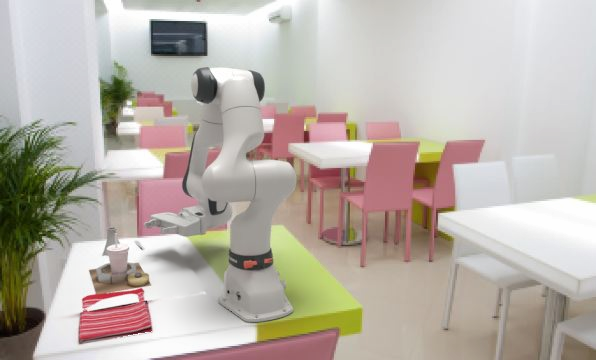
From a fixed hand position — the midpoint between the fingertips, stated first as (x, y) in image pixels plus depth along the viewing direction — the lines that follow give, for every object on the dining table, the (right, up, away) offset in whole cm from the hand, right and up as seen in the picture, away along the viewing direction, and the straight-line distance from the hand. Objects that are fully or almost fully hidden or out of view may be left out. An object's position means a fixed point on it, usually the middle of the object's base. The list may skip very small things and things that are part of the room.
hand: (153, 228), depth 160 cm
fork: (-10, -10, +22) cm, 26 cm away
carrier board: (-8, -15, -7) cm, 19 cm away
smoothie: (-8, -14, -7) cm, 18 cm away
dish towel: (-2, -21, -28) cm, 35 cm away
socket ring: (-9, -14, -6) cm, 18 cm away
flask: (-18, -11, +14) cm, 25 cm away
